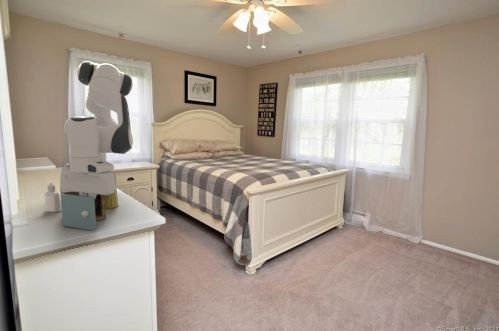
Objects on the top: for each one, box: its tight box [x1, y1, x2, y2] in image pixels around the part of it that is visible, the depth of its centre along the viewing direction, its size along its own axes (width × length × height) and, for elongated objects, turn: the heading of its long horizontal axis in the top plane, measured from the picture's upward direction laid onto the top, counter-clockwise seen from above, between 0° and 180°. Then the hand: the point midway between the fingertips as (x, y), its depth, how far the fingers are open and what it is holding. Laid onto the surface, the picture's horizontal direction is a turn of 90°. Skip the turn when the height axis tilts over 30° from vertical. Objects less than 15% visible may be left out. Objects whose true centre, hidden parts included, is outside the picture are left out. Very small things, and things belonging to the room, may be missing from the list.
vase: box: [105, 173, 119, 210], centre depth 114 cm, size 6×6×14 cm
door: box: [59, 193, 97, 231], centre depth 89 cm, size 2×13×11 cm, turn 76°
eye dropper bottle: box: [44, 181, 61, 213], centre depth 107 cm, size 4×6×12 cm
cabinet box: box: [59, 186, 107, 221], centre depth 100 cm, size 12×13×12 cm
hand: (88, 205), depth 90 cm, fingers closed
